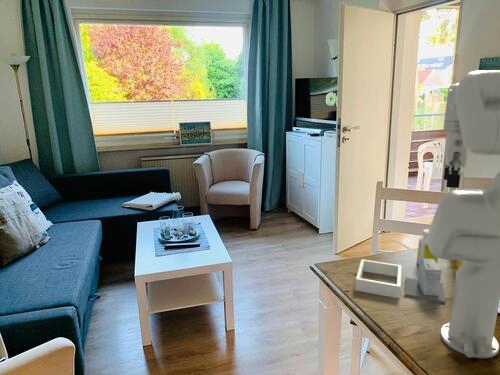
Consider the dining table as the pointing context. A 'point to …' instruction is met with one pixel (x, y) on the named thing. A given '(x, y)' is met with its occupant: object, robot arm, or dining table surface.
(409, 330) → the dining table surface
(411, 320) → the dining table surface
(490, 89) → the robot arm
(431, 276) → the medicine box
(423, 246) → the supplement bottle
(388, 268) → the bin
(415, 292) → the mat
